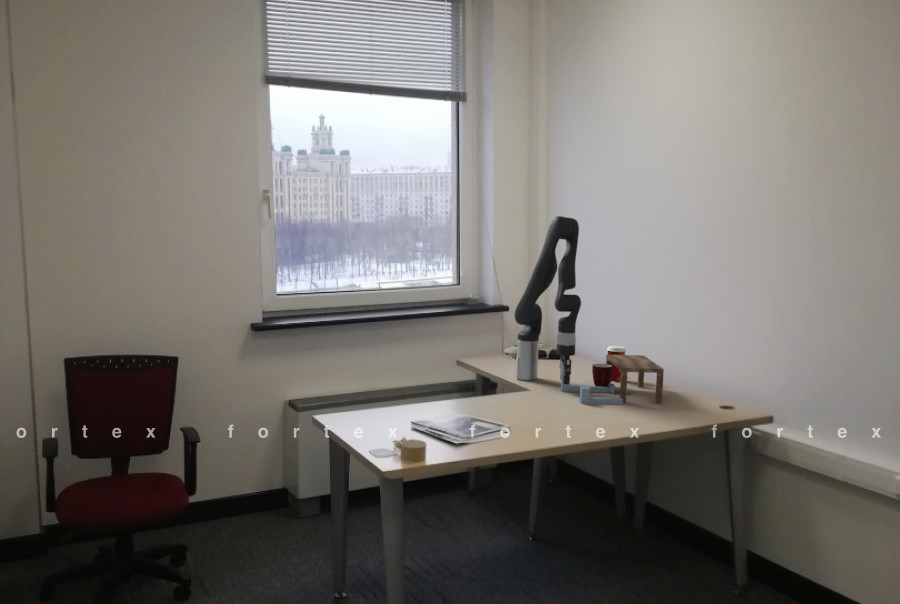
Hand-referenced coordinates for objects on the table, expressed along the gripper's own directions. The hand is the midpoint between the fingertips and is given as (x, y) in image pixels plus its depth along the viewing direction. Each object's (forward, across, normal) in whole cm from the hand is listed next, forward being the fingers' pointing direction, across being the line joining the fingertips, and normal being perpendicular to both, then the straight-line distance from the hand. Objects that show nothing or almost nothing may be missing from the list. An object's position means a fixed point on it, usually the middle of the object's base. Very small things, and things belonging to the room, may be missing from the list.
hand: (564, 382), depth 322 cm
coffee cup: (+4, -23, +26) cm, 35 cm away
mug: (+4, -4, +16) cm, 17 cm away
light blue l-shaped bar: (+4, 0, +10) cm, 10 cm away
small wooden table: (+4, +4, +27) cm, 28 cm away
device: (+4, -83, -1) cm, 83 cm away
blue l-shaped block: (+4, +21, +11) cm, 24 cm away
